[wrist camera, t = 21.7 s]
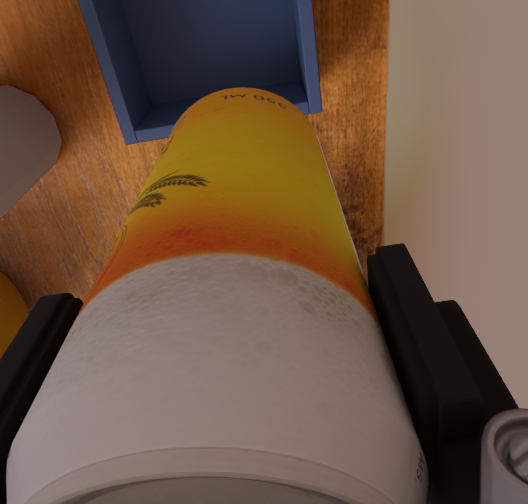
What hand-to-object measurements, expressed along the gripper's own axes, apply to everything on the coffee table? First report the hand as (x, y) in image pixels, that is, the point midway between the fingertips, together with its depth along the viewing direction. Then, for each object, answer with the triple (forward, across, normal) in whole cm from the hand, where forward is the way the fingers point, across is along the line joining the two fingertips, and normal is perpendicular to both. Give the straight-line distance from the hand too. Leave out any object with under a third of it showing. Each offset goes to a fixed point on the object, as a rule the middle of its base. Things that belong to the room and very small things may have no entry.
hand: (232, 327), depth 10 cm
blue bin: (+27, +2, -4) cm, 28 cm away
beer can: (+10, 0, 0) cm, 10 cm away
